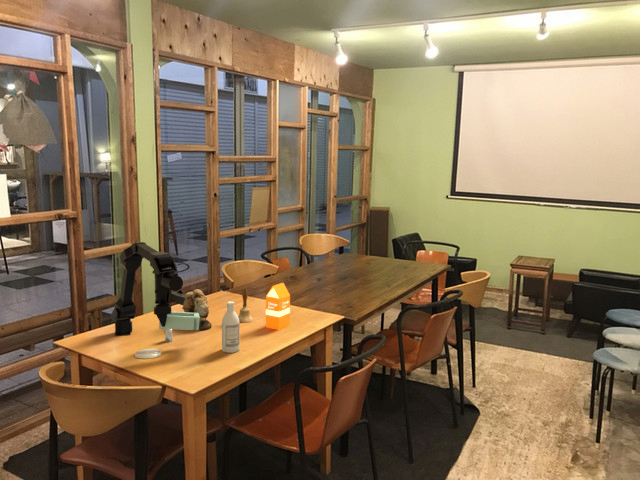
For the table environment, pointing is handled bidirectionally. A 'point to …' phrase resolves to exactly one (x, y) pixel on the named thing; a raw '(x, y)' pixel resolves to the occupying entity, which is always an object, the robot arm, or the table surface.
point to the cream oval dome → (147, 353)
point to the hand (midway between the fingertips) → (163, 325)
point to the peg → (168, 335)
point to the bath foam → (230, 330)
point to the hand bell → (245, 309)
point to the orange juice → (278, 307)
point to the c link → (182, 321)
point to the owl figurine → (198, 307)
